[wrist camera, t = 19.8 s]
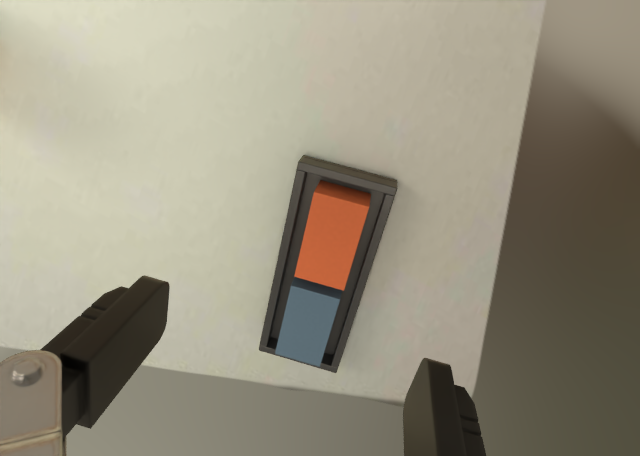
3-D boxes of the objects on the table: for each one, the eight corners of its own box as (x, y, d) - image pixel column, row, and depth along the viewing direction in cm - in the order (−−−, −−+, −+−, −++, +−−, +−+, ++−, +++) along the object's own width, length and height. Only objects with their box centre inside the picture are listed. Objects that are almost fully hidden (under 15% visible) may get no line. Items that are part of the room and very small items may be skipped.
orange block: (320, 179, 39) (313, 191, 36) (371, 193, 39) (369, 206, 36) (301, 259, 43) (294, 276, 40) (347, 272, 43) (343, 291, 40)
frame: (303, 154, 39) (298, 161, 37) (397, 180, 39) (397, 188, 37) (264, 336, 49) (258, 350, 47) (338, 358, 49) (336, 373, 47)
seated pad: (298, 267, 44) (290, 285, 41) (344, 280, 44) (340, 299, 40) (282, 333, 48) (274, 353, 45) (324, 345, 47) (319, 367, 44)
